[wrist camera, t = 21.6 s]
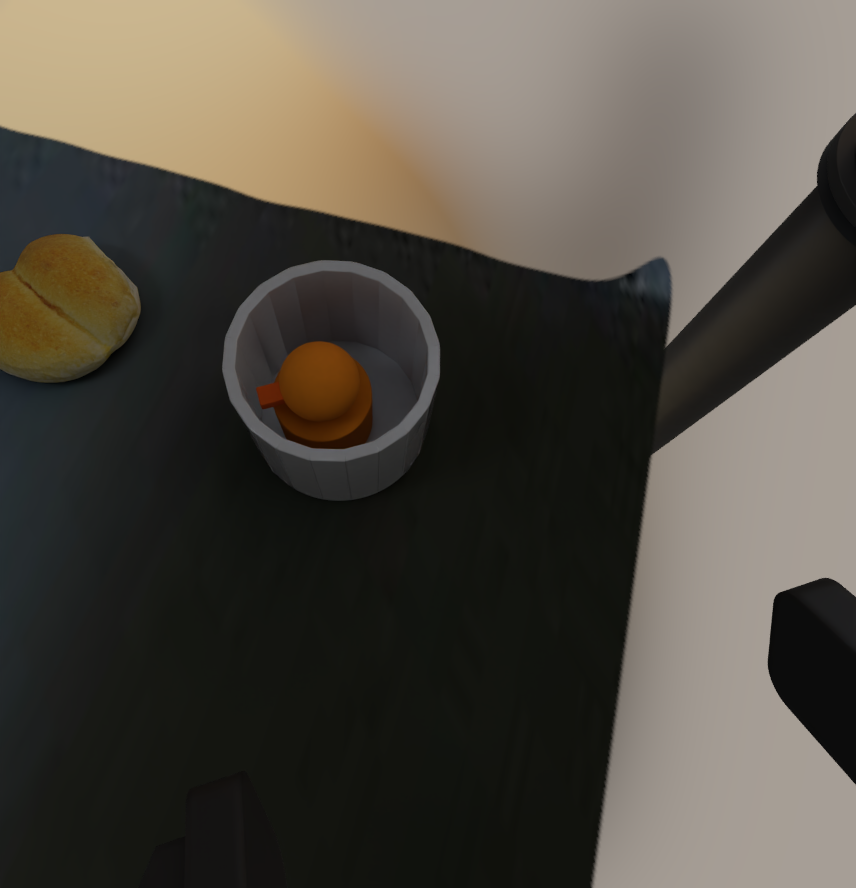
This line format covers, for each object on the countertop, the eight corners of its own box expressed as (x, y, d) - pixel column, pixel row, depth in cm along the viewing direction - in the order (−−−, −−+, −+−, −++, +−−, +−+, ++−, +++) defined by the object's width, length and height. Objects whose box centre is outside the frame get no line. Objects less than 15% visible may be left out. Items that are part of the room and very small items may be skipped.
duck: (358, 368, 44) (355, 305, 36) (383, 449, 43) (384, 402, 35) (264, 392, 43) (239, 333, 35) (285, 476, 42) (265, 434, 34)
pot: (399, 318, 46) (404, 239, 37) (449, 472, 43) (467, 427, 35) (235, 360, 44) (200, 288, 36) (277, 522, 42) (252, 487, 33)
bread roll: (-43, 325, 44) (-83, 293, 40) (80, 231, 46) (52, 192, 42) (48, 419, 43) (15, 395, 39) (169, 318, 45) (150, 287, 41)
